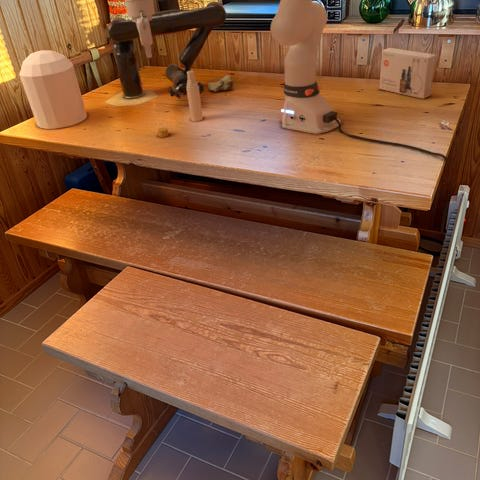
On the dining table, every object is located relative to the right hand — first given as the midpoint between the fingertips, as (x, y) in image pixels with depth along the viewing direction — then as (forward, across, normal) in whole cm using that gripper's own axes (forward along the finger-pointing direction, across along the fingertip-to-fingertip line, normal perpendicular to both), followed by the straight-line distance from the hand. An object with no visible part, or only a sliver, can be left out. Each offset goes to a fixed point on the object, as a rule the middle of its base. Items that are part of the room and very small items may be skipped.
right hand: (148, 54), depth 156 cm
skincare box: (+29, +4, -99) cm, 103 cm away
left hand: (+22, +22, -14) cm, 34 cm away
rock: (+29, +45, -30) cm, 62 cm away
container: (+29, +36, +40) cm, 61 cm away
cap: (+27, 0, 0) cm, 27 cm away
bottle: (+29, +12, -14) cm, 34 cm away
